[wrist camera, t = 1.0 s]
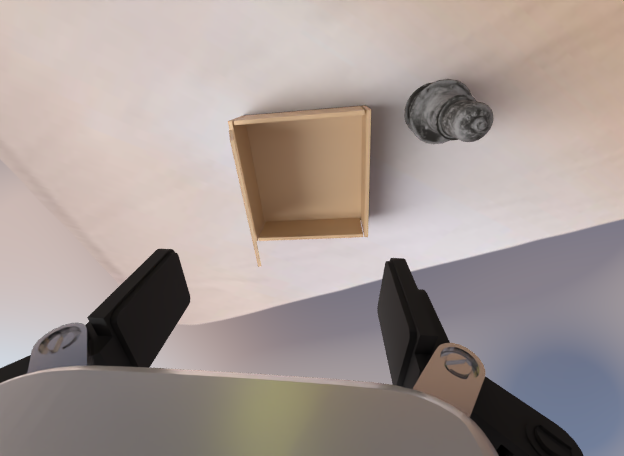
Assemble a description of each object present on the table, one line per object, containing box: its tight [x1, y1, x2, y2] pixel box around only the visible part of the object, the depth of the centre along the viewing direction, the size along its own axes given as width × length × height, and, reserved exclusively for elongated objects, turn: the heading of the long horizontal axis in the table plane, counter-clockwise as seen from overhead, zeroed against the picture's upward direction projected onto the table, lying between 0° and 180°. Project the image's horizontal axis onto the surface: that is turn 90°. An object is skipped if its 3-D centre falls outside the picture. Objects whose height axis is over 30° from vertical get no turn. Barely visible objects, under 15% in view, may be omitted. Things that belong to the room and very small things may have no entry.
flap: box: [229, 130, 261, 267], centre depth 26 cm, size 6×12×1 cm
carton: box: [228, 105, 371, 241], centre depth 31 cm, size 14×14×5 cm
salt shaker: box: [405, 79, 493, 144], centre depth 24 cm, size 6×6×12 cm
